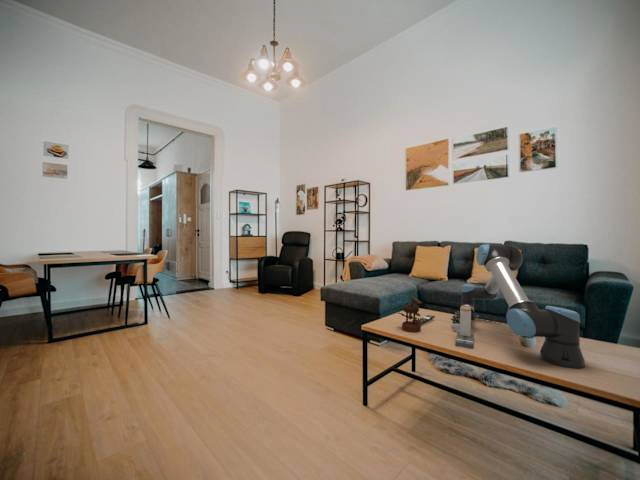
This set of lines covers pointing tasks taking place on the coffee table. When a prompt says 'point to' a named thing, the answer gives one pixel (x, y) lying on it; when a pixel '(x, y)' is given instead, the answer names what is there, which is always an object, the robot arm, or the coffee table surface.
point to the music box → (410, 308)
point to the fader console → (464, 341)
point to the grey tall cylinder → (465, 321)
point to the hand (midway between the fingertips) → (465, 320)
